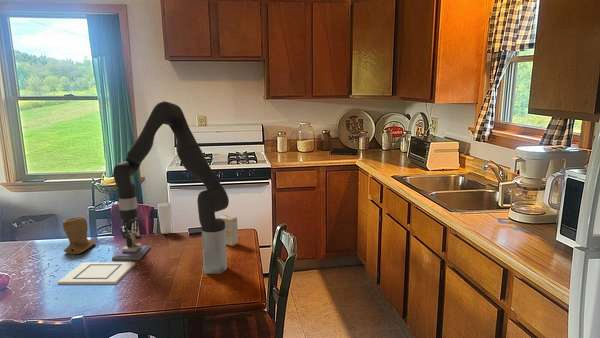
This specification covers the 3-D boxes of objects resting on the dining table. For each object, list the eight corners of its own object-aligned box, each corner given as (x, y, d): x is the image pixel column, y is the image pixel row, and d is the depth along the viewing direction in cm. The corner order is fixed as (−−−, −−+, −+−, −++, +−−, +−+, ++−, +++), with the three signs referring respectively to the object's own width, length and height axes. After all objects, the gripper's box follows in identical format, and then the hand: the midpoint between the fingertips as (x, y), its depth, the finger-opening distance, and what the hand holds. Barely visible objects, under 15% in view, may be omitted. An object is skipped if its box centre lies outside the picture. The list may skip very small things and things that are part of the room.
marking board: (115, 284, 157) (115, 281, 157) (57, 284, 158) (57, 281, 157) (135, 264, 175) (134, 261, 175) (83, 264, 175) (82, 261, 175)
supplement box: (238, 243, 198) (237, 217, 195) (232, 246, 194) (230, 219, 191) (225, 240, 202) (224, 214, 200) (218, 243, 198) (217, 217, 196)
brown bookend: (74, 243, 200) (70, 213, 197) (99, 243, 200) (96, 213, 197) (56, 256, 185) (52, 223, 182) (83, 255, 185) (79, 223, 182)
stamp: (135, 252, 183) (134, 235, 182) (122, 253, 183) (120, 235, 182) (141, 247, 189) (139, 230, 188) (128, 247, 189) (126, 231, 188)
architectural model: (135, 238, 207) (134, 224, 206) (123, 237, 209) (121, 223, 207) (139, 236, 210) (138, 222, 209) (127, 235, 212) (126, 221, 211)
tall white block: (159, 235, 210) (156, 206, 207) (159, 231, 217) (157, 202, 214) (173, 233, 212) (171, 205, 209) (173, 229, 218) (171, 201, 216)
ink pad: (138, 260, 179) (138, 256, 179) (112, 260, 180) (111, 256, 179) (150, 248, 193) (150, 244, 193) (126, 248, 193) (125, 244, 193)
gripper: (130, 211, 175) (133, 250, 179) (143, 202, 189) (146, 239, 193) (112, 211, 176) (116, 250, 179) (126, 202, 189) (129, 239, 193)
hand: (131, 244), depth 186 cm, fingers closed on stamp, 3 cm apart
